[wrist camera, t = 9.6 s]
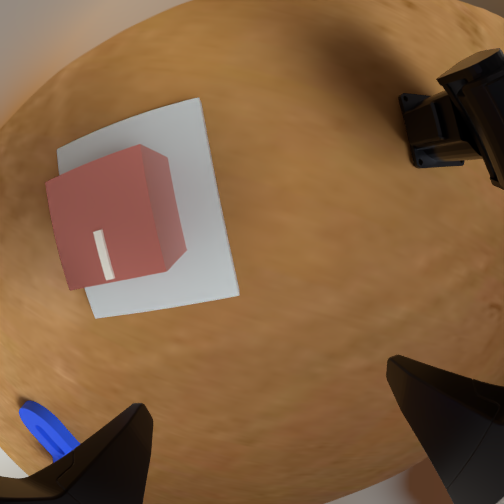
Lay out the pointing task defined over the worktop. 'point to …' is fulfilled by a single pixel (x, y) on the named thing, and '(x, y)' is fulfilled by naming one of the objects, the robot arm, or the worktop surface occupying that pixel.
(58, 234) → the pink slotted box
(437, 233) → the worktop surface
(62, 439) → the bracket
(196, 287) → the peg base plate
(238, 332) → the worktop surface
